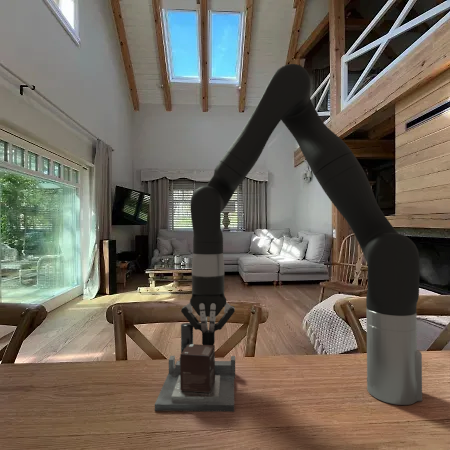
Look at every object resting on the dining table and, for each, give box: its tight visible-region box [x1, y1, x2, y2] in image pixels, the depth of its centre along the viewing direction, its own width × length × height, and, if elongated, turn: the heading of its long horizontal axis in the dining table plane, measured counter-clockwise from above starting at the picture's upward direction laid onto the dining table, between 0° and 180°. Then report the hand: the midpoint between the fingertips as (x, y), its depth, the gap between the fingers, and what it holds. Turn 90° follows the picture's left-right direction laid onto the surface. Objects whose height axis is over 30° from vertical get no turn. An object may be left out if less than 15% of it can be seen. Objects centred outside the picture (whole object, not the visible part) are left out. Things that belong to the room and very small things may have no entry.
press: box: [154, 355, 236, 413], centre depth 69 cm, size 15×16×4 cm
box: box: [179, 343, 216, 392], centre depth 66 cm, size 6×6×7 cm
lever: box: [180, 322, 194, 354], centre depth 75 cm, size 3×3×9 cm
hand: (208, 347), depth 75 cm, fingers closed
